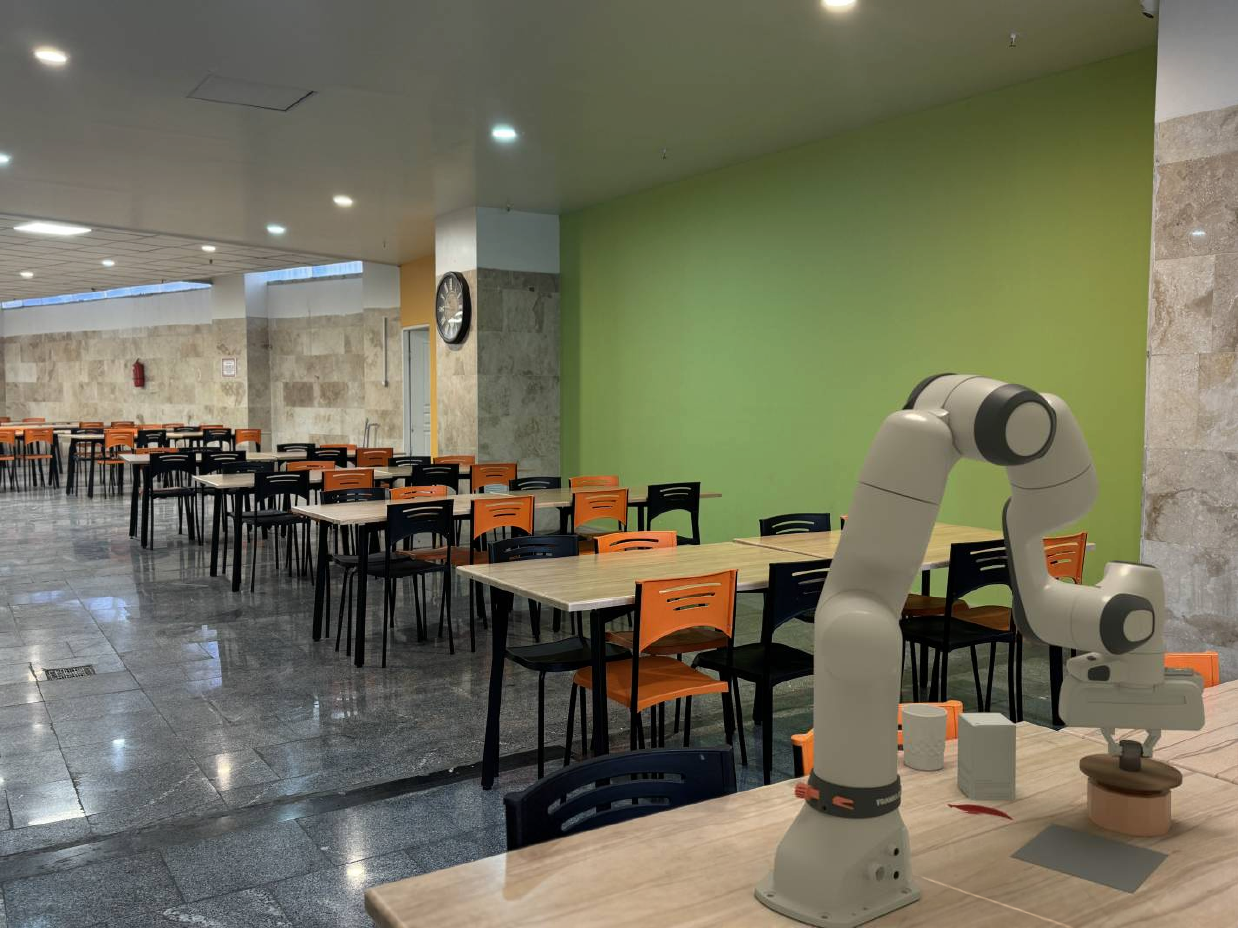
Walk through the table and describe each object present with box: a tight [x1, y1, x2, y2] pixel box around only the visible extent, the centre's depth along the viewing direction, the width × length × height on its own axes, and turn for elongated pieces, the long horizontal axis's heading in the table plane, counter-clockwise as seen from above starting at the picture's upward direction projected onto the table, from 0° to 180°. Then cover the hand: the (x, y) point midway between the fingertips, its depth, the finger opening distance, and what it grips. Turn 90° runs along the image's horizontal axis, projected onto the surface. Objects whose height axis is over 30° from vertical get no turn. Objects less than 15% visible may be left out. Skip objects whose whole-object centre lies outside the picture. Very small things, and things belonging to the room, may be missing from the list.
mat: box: [1009, 823, 1169, 894], centre depth 140 cm, size 16×16×1 cm
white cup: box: [900, 703, 948, 772], centre depth 178 cm, size 8×8×10 cm
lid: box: [1078, 739, 1184, 790], centre depth 152 cm, size 14×14×5 cm
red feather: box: [947, 803, 1014, 821], centre depth 156 cm, size 12×5×2 cm, turn 37°
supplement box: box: [956, 712, 1017, 801], centre depth 164 cm, size 7×7×13 cm
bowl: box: [1086, 777, 1172, 837], centre depth 152 cm, size 11×11×6 cm
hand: (1130, 756), depth 152 cm, fingers closed on lid, 3 cm apart
